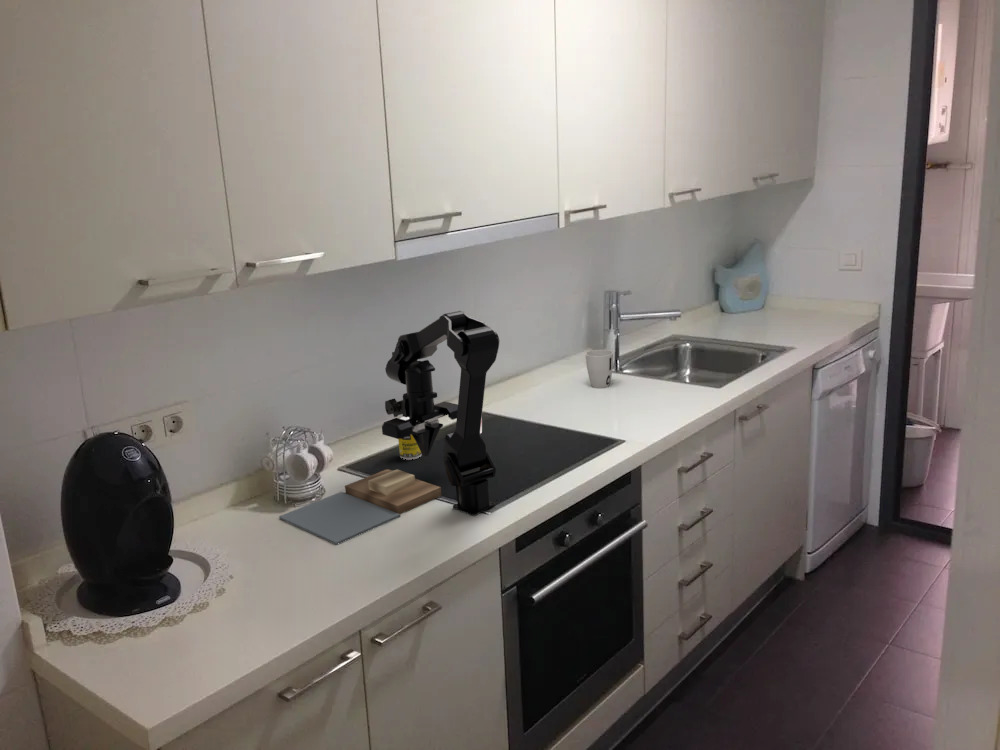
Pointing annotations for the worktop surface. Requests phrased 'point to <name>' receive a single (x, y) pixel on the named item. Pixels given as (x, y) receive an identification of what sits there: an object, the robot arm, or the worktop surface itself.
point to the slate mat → (339, 517)
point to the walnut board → (395, 494)
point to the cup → (599, 367)
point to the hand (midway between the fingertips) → (425, 456)
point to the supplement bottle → (408, 447)
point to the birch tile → (391, 482)
